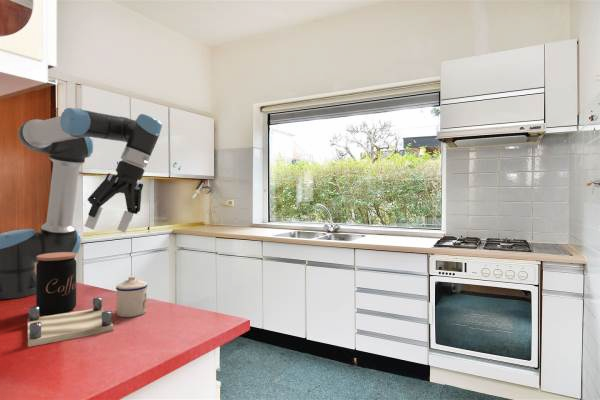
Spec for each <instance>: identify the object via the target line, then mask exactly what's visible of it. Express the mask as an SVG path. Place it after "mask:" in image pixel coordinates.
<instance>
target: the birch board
mask: <svg viewBox="0 0 600 400" xmlns="http://www.w3.org/2000/svg"><path fill="white" fill-rule="evenodd" d="M104 311H105V310H104V308H103V307H102V310H99V311H93V308H90V309H85V310H78V311H70V312H68V313H63V314H57V315H51V316H45V315H43V316H39V320H36V321H29V318H27V348H30V347H34V346H41V345H45V344H51V343H57V342H61V341H67V340H72V339H76V338H81V337H82V338H83V337H87V336H93V335H97V334H99V335H100V334H103V333H108V332H109V333H110V332H113V331H114V330H115V329H114V328H115V327H114V324H113V322H112V321H111V325H109V326H102V312H104ZM35 322H41V338H38V339H33V340H31V339H29V329H30V324H31V323H35Z"/></svg>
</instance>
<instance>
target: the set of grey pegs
mask: <svg viewBox="0 0 600 400" xmlns="http://www.w3.org/2000/svg"><path fill="white" fill-rule="evenodd" d="M92 306H93V307H92V309H93V311H99V310H102V308H103V297H100V296H98V297H94V298H92ZM39 317H40V314H39V306H36V305H35V306H29V308H28V319H29V321H36V320H39ZM111 322H112V311H111V310H104V312H102V326H109V325H111ZM38 338H41V322H35V323H31V324H30V329H29V339H31V340H33V339H38Z"/></svg>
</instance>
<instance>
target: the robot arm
mask: <svg viewBox="0 0 600 400" xmlns="http://www.w3.org/2000/svg"><path fill="white" fill-rule="evenodd" d="M162 128H163V124H162V122H161V121H160V120H158V119H157V118H154V117H152V116H150V115H147V114H145V113H140V114H139V115H138V116H137V118H136V119H132V118H128V117H125V116H117V115H112V114H105V113H101V112H95V111H91V110H86V109H82V108H73V107H68V108H65V109H64V110H63V111H62V112H61V115H60V116H55V117H52V118H47V119H31V120H26V121H25V122H23V123H22V124H21V125H20V126H19V128H18V131H17V135H18V139H19V141H20V143H21V144H22V145H23V146H24V147H26V148H27V149H28V150H31V151H33V152H34V153H35V152H36V153H39V154H46V155H49V157H48V158H49V159H50V161H51V162H52V172H51V180H50V181H51V182H50V187H49V188H50V190H49V191H50V192H49V196H48V205H47V206H48V207H47V215H46V222H45V223H43V224H42V225H41V227H40V231H38V232H36V229H33V228H24V229H17V230H11V231H6V232H2V233H0V300H10V299H11V300H12V299H18V298H24V297H29V296H33V295H36V264H37V263H38V260H37V258H36V257H37V256H38V255H41V254H47V253H57V252H72V253H76V255H77V254H78V253H79V250H80V249H81V245H82V239H81V234H80V232H79V231H78V230H77V227H76V226H75V225H74V224H73V222H74V221H73V220H74V213H75V203H76V197H77V190H78V189H77V188H78V180H79V172H80V167H81V165H83V164H85V161H86V159H87V158H90V157H91V156H92V153H93V151H94V141H93V138H95V139H103V140H108V141H110V140H111V141H116V142H124V143H126V144H125V146H124V150H123V152H122V154H121V156H120V158H121V160H120V161H118V163H117V166H116V168H115V172H116V173H117V174H116V175H115V174H113V173H110V172H109V173H107V175H106V177H105V178H104V179H103V181H102V182H101V183H100V184H99V185H98V186H97V188H95V190H94V191H93V192H92V193H91V194H90V195H89V197H88V198H87V201H88V202H89V204H91V207H90V209H89V212H88V216H87V218H86V221H85V224H84V227H86V228H89V229H90V230H95V227H96V225H97V223H98V220H99V218H100V216H101V213H102V210H103V207H102V206H103V205H104V204H106V202H108V201H109V200H111V199H112V198H113V197H114V196H115V195H116V194H124V198H125V204H126V210H124V212H123V213H122V217H121V220H120V221H119V224H118V226H117V231H120V232H122V233H126V232H127V230H128V228H129V224H130V222H131V221H132V219H133V216H134V215H137V214H138V213H139V212H140V211H141V203H142V202H141V201H142V191H143V190H142V189H144V184H143V183H140V182H138V181H141V180H142V178H143V176H144V174H145V169H144V168H146V167H147V165H148V163H149V160H150V157H151V156H152V153H153V151H154V149H155V147H156V144H157V142H158V140H159V138H160V134H161V130H162Z"/></svg>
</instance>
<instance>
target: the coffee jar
mask: <svg viewBox="0 0 600 400" xmlns="http://www.w3.org/2000/svg"><path fill="white" fill-rule="evenodd" d="M36 258H37V260H38V263H36V264H35V273H36V294H35V298H36V299H35V301H36V302H35V304H36V305H35V306H39V316H51V315H57V314H63V313H70V312H73V311H74V309H75V308H76V307H77V260H76V259H75V258H77V254H76V253H72V252H57V253H47V254H41V255H38V256H37V257H36Z"/></svg>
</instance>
